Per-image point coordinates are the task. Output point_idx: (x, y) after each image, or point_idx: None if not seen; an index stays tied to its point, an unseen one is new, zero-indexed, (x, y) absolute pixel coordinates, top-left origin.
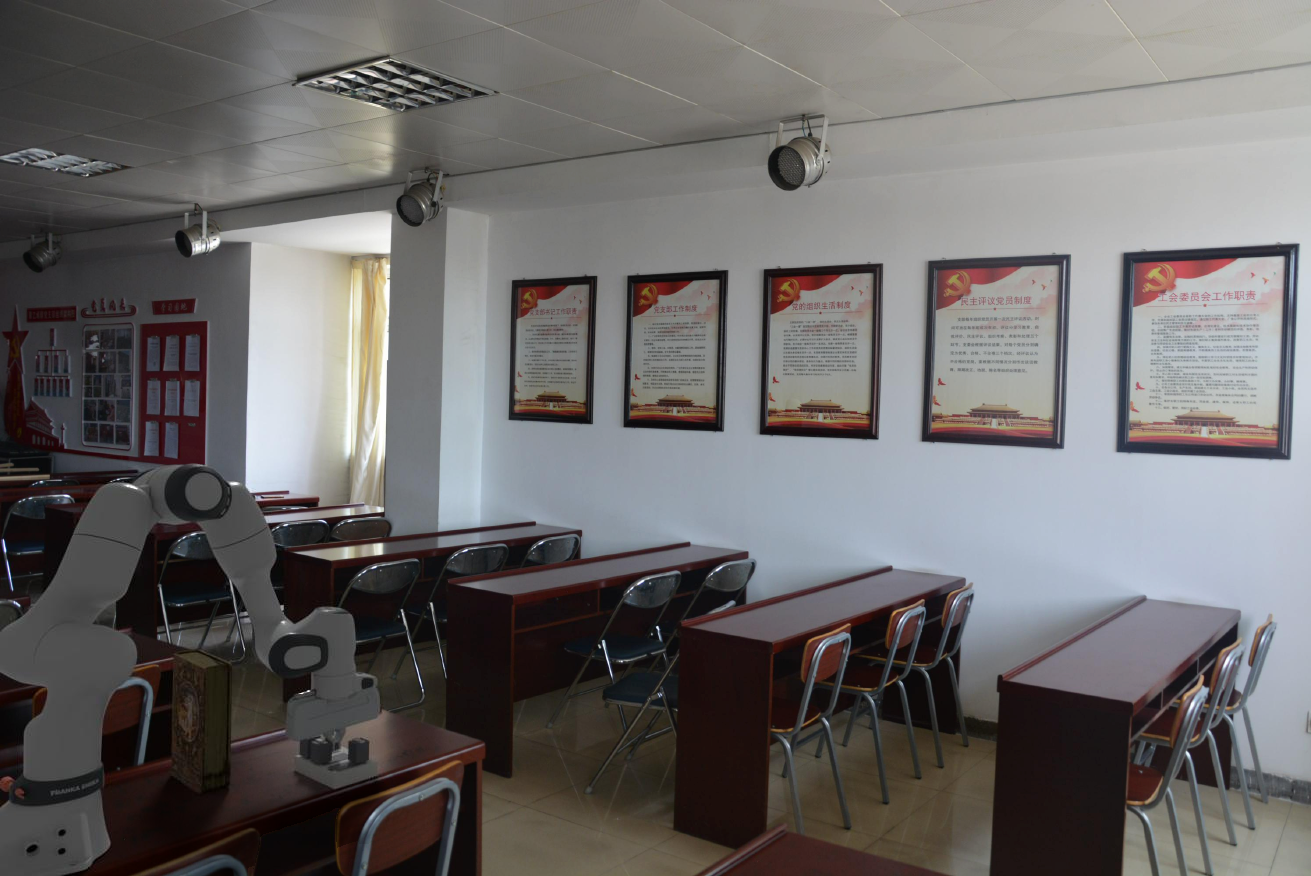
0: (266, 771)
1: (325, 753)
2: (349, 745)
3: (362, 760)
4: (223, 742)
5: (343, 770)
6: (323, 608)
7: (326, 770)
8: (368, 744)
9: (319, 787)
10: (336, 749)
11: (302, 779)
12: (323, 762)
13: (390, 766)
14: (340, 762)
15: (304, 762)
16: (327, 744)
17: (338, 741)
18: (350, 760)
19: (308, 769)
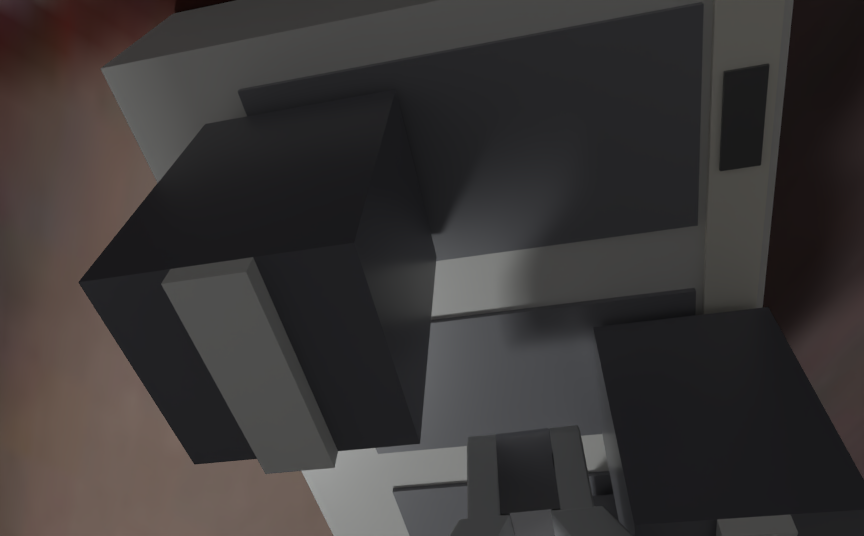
0: None
1: (704, 397)
2: (416, 369)
3: (296, 112)
4: None
5: (613, 11)
6: None
7: (776, 140)
8: (124, 238)
9: (805, 54)
10: (526, 434)
11: (777, 310)
12: (702, 321)
13: (16, 167)
14: (509, 275)
15: None
16: (707, 497)
17: (503, 520)
18: (424, 214)
19: None
